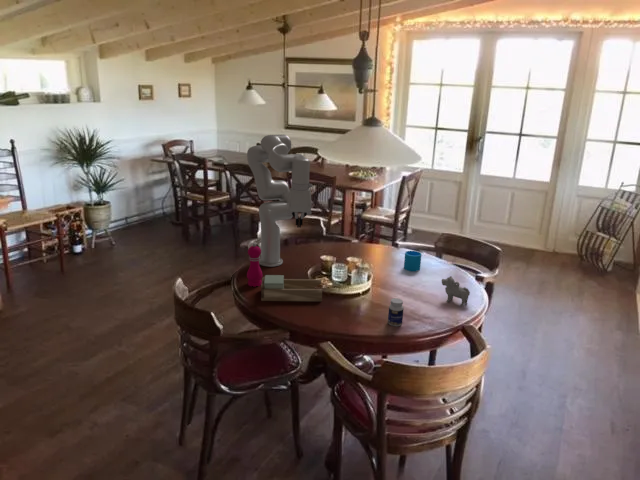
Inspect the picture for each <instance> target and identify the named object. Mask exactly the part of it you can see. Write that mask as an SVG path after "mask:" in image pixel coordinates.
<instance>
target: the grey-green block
mask: <svg viewBox="0 0 640 480" xmlns="http://www.w3.org/2000/svg"><path fill="white" fill-rule="evenodd" d="M264 277H265V281H264V289H284V279H285V275H281V274H265V275H264Z"/></svg>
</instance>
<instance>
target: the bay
mask: <svg viewBox="0 0 640 480" xmlns="http://www.w3.org/2000/svg"><path fill="white" fill-rule="evenodd" d="M261 280H262V284H261V285H260V287H261V288H260V295H261V296H260V297H261V298H260V300H261V302H323V288H321V289H315V288H314V287H315V286H317V285H319V284H321V285H322V279H319V278H318V279H316V278H315V279H314V278H313V279H308V278H307V279H306V278H284V289H264V281H265V276H263V277H262V278H261Z"/></svg>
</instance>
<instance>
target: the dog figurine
mask: <svg viewBox="0 0 640 480" xmlns="http://www.w3.org/2000/svg"><path fill="white" fill-rule="evenodd" d="M441 285H442V286H445V293H446V295H447V299H446V302H447V303H450V302H449V301H451V300H453V299H454V297H455V298H458V299H461V303H460V305H459V306H460V307H464V305H465V304H467V303H468V300H469V296H470V294H471V292H470V290H469V288H468V287H467V288H466V287H465V286H464V287H461V286H460V283H459V282H458V281H455V279H454V278H453V277H452V276H449V277H447V278H445V279H444V278H442V279H441Z"/></svg>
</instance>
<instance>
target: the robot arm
mask: <svg viewBox="0 0 640 480" xmlns="http://www.w3.org/2000/svg"><path fill="white" fill-rule="evenodd" d="M291 149H292V139H291V138H290V137H289V136H288V135H287V134H266V135H264V136H263V137H262V138H261V140H260V145H259V144H257V145H253V146H251V147H249V148H248V150H247V153H246V158H247V163H248V166H249V168H250V171H251V173H252V175H253V177H254V183H255V187H256V190H257V195H258V198H259V199H260V200H261V201H267V202H264V203H261V204H260V206H259V207H258V214H259V215H258V216H259V220H260V249H261V254H260V260H259V266H261V267H262V266H263V267H269V268H270V267H271V268H273V267H279V266H281V265H282V264H283V263H284V260H283V258H281V229H280V226H279V225H278V224H277V223H276V222H277V221H284V220H285V221H286V220H291V219H292V218H293V217H294V219H295V226H296V227H297V228H302V226H303V223H304V222H303V220H304V218H305V217H306V216H309V215H313V214H312V192H311V189H310V188H313V184H312V183H310V171H311V166H310V165H311V164H310V163H311V161H310V159H309V158H307V157H305V156H304V155H303V154H301V153H290V154H289V152H290V150H291ZM264 163H269V165H270V167H271V169H274V171H276V172H279V173H290V172H291V187H289V185H288V183H287V182H286V181H285V180H284V179H283V180H281V179H279V180H274V179H273V177H272V172H271V170H270V169H269V167H267V166H266V165H265V164H264ZM276 200H278V201H276ZM298 213H300V215H299V214H298Z"/></svg>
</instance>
